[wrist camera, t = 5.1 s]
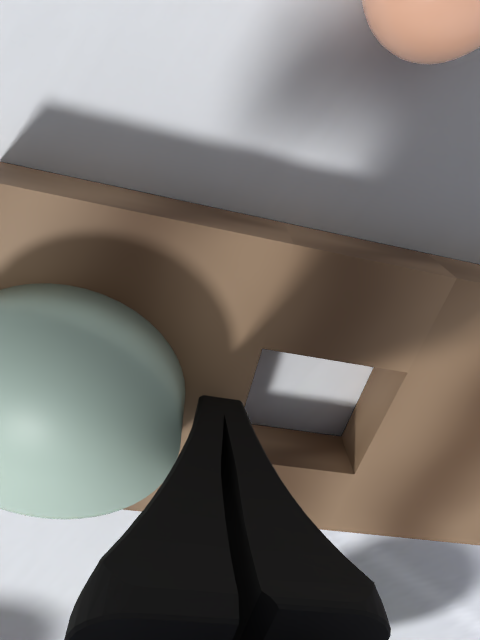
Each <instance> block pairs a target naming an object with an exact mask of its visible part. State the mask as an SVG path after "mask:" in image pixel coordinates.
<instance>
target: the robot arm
mask: <svg viewBox="0 0 480 640" xmlns="http://www.w3.org/2000/svg"><path fill="white" fill-rule="evenodd" d="M390 632H391V628H390V625H389V622H388V618H387V615H386V612H385V609H384V606H383V604H382V601H381V598H380V596H379V594H378V592H377V589H376V587H375V584H374V582H373V581H371V580H370V579H369V578H368V577H367V576H366V575H365V574H364V573H363V572H362V571H360V570H359V569H358V568H357V567H356V566H355V565H354V564H353V563H352V562H350V561H349V560H348V559H347V558H346V557H345V556H344V555H343V554H342V553H341V552H340V551H339V550H338V549H337V548H336V547H335V546H334V545H333V544H332V543H331V542H330V541H329V540H328V539H327V538H326V537H325V536H324V534H323V533H322V532H321V531H320V530H319V529H318V527H317V526H316V525H315V524H314V523H313V522H312V520H311V519H310V518H309V517H308V516H307V515H306V513H305V512H304V511H303V510H302V508H301V507H300V506H299V504H298V503H297V502H296V500H295V499H294V498H293V496H292V495H291V493H290V492H289V491H288V489H287V488H286V486H285V485H284V483H283V482H282V480H281V479H280V477H279V475H278V474H277V472H276V470H275V469H274V467H273V465H272V464H271V462H270V460H269V458H268V457H267V455H266V453H265V451H264V449H263V447H262V445H261V443H260V442H259V440H258V438H257V436H256V433H255V431H254V429H253V427H252V425H251V423H250V420H249V418H248V416H247V413H246V411H245V408H244V406H243V403H242V402H241V401H240V400H234V399H227V398H220V397H213V396H207V395H202V396H200V397H199V399H198V404H197V408H196V412H195V417H194V421H193V425H192V428H191V431H190V433H189V435H188V438H187V440H186V442H185V444H184V446H183V448H182V450H181V452H180V454H179V456H178V458H177V460H176V462H175V463H174V465H173V467H172V469H171V470H170V472H169V474H168V475H167V477H166V478H165V480H164V482H163V483H162V485H161V486H160V488H159V489H158V491H157V492H156V493H155V495H154V496H153V498H152V499H151V501H150V502H149V503H148V505H147V506H146V507H145V509H144V510H143V511H142V512H141V514H140V515H139V516H138V517H137V519H136V520H135V521H134V522H133V524H132V525H131V526H130V527H129V528H128V530H127V531H126V532H125V533H124V534H123V535H122V537H121V538H120V539H119V540H118V541H117V542H116V543H115V544H114V545H113V546H112V547H111V548H110V549H109V551H108V552H107V553H106V554H105V555H104V556H103V557H102V558H101V559H100V561H99V563H98V565H97V566H96V568H95V569H94V571H93V573H92V574H91V576H90V578H89V579H88V581H87V583H86V585H85V586H84V588H83V590H82V592H81V594H80V596H79V597H78V599H77V602H76V604H75V606H74V608H73V611H72V614H71V616H70V620H69V624H68V628H67V632H66V635H65V639H64V640H388V639H389V637H390Z"/></svg>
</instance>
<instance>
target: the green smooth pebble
mask: <svg viewBox="0 0 480 640" xmlns="http://www.w3.org/2000/svg"><path fill="white" fill-rule="evenodd" d="M184 402H185V381H184V376H183V372H182V368H181V366H180V364H179V361H178V359H177V356H176V355H175V353H174V351H173V350H172V348H171V346H170V345H169V343H168V342H167V341H166V339H165V338H164V337H163V336H162V334H161V333H160V332H159V331H158V330H157V329H156V328H155V327H154V326H153V325H152V324H151V323H150V322H149V321H147V320H146V319H145V318H144V317H142V316H141V315H140V314H138V313H137V312H136V311H134V310H132V309H131V308H129V307H127V306H126V305H124V304H122V303H121V302H119V301H116V300H114V299H112V298H110V297H108V296H105V295H103V294H100V293H97V292H94V291H91V290H88V289H84V288H79V287H74V286H70V285H61V284H51V283H41V284H25V285H18V286H13V287H9V288H5V289H2V290H0V509H2V510H6V511H9V512H13V513H17V514H22V515H27V516H32V517H39V518H48V519H81V518H89V517H96V516H101V515H105V514H110V513H113V512H116V511H119V510H122V509H124V508H127V507H129V506H131V505H133V504H135V503H137V502H139V501H141V500H142V499H144V498H146V497H147V496H148V495H150V494H151V493H152V492H154V491H155V490H156V489H157V488H158V487H159V486H160V485H161V484H162V483H163V482H164V480H165V478H166V477H167V475H168V474H169V472H170V470H171V469H172V467H173V465H174V463H175V462H176V460H177V458H178V454H179V451H180V444H181V433H182V423H183V413H184Z"/></svg>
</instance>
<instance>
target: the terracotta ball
mask: <svg viewBox="0 0 480 640" xmlns="http://www.w3.org/2000/svg"><path fill="white" fill-rule="evenodd" d="M362 4H363V10H364V13H365V17H366V20H367V23H368V25H369V27H370V29H371V31H372V33H373V34H374V36H375V38H376V39H377V40H378V41H379V43H380V44H381V45H382V46H383V47H384V48H385V49H387V50H388V51H389V52H390V53H392V54H393V55H395V56H397V57H398V58H400V59H403V60H405V61H408V62H412V63H417V64H438V63H444V62H448V61H452V60H455V59H458V58H460V57H463V56H465V55H467V54H469V53H471V52H472V51H474V50H476V49H478V48H480V0H362Z"/></svg>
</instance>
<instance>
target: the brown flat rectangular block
mask: <svg viewBox="0 0 480 640" xmlns="http://www.w3.org/2000/svg"><path fill="white" fill-rule="evenodd" d="M41 283H51V284H61V285H70V286H74V287H79V288H84V289H88V290H91V291H94V292H97V293H100V294H103V295H105V296H108V297H110V298H112V299H114V300H116V301H119V302H121V303H122V304H124V305H126V306H127V307H129V308H131V309H132V310H134V311H136V312H137V313H138V314H140V315H141V316H142V317H144V318H145V319H146V320H147V321H149V322H150V323H151V324H152V325H153V326H154V327H155V328H156V329H157V330H158V331H159V332H160V333H161V334H162V336H163V337H164V338H165V339H166V341H167V342H168V343H169V345H170V346H171V348H172V350H173V351H174V353H175V355H176V356H177V359H178V361H179V364H180V366H181V368H182V372H183V376H184V381H185V402H184V413H183V423H182V433H181V444H180V451H179V454H180V452H181V450H182V448H183V446H184V444H185V442H186V440H187V438H188V435H189V433H190V431H191V428H192V425H193V421H194V417H195V412H196V408H197V404H198V399H199V397H200V396H202V395H207V396H213V397H220V398H227V399H234V400H240V401H241V402H242V403H243V406H244V407H245V404H246V401H247V397H248V394H249V391H250V387H251V384H252V381H253V378H254V374H255V371H256V368H257V364H258V361H259V358H260V355H261V351H262V349H268V350H274V351H280V352H286V353H292V354H298V355H304V356H310V357H316V358H322V359H328V360H334V361H340V362H346V363H352V364H358V365H364V366H370V367H374V368H373V370H372V372H371V375H370V377H369V379H368V381H367V383H366V385H365V387H364V389H363V392H362V394H361V396H360V398H359V400H358V402H357V404H356V406H355V409H354V411H353V413H352V415H351V417H350V419H349V421H348V423H347V426H346V428H345V430H344V432H343V434H342V436H333V435H326V434H319V433H311V432H304V431H297V430H290V429H282V428H275V427H268V426H260V425H253V424H251V425H252V427H253V429H254V431H255V433H256V436H257V438H258V440H259V442H260V443H261V445H262V447H263V449H264V451H265V453H266V455H267V457H268V458H269V460H270V462H271V464H272V465H273V467H274V469H275V470H276V472H277V474H278V475H279V477H280V479H281V480H282V482H283V483H284V485H285V486H286V488H287V489H288V491H289V492H290V493H291V495H292V496H293V498H294V499H295V500H296V502H297V503H298V504H299V506H300V507H301V508H302V510H303V511H304V512H305V513H306V515H307V516H308V517H309V518H310V519H311V520H312V522H313V523H314V524H315V525H316V526H317V527H318V529H322V530H332V531H342V532H352V533H362V534H372V535H382V536H392V537H402V538H412V539H422V540H432V541H442V542H452V543H462V544H471V545H480V265H479V264H474V263H469V262H465V261H460V260H455V259H451V258H446V257H441V256H437V255H432V254H427V253H423V252H418V251H413V250H409V249H404V248H399V247H395V246H390V245H385V244H381V243H376V242H371V241H367V240H362V239H358V238H353V237H348V236H344V235H339V234H334V233H330V232H325V231H320V230H316V229H311V228H306V227H302V226H297V225H292V224H288V223H283V222H278V221H274V220H269V219H264V218H260V217H255V216H250V215H246V214H241V213H237V212H232V211H227V210H223V209H218V208H213V207H209V206H204V205H199V204H195V203H190V202H185V201H181V200H176V199H171V198H167V197H162V196H157V195H153V194H148V193H143V192H139V191H134V190H129V189H125V188H120V187H115V186H111V185H106V184H102V183H97V182H92V181H88V180H83V179H78V178H74V177H69V176H64V175H60V174H55V173H50V172H46V171H41V170H36V169H32V168H27V167H22V166H18V165H13V164H8V163H4V162H0V290H2V289H5V288H9V287H13V286H18V285H25V284H41ZM179 454H178V456H179ZM161 485H162V484H161ZM161 485H160V486H161ZM160 486H159V487H158V488H157V489H156V490H155V491H154V492H152V493H151V494H150V495H148V496H147V497H146V498H144V499H142V500H141V501H139V502H137V503H135V504H133V505H131V506H129V507H127V508H124V509H123V510H133V511H143V510H144V509H145V507H146V506H147V505H148V503H149V502H150V501H151V499H152V498H153V496H154V495H155V493H156V492H157V491H158V489H159V488H160Z"/></svg>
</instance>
